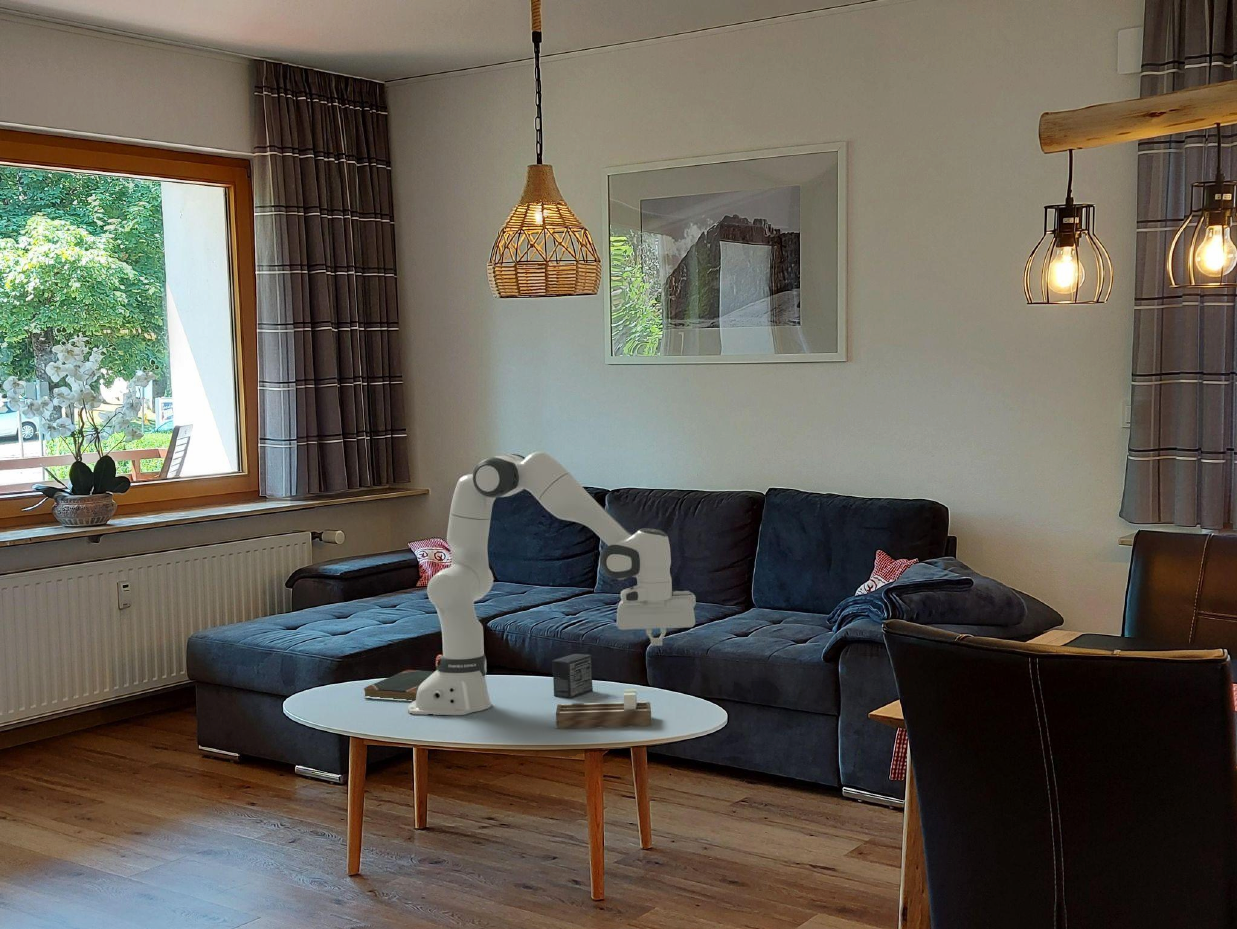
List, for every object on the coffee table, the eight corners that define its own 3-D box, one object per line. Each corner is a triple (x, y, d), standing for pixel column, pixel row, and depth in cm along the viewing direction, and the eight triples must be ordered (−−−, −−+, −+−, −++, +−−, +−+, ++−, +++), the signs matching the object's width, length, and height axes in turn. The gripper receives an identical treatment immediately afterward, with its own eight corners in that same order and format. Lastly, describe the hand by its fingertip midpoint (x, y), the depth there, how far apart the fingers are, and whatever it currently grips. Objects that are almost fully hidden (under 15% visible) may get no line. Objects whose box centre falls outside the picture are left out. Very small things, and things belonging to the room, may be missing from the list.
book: (407, 681, 381) (362, 700, 358) (407, 669, 381) (362, 688, 358) (458, 684, 375) (416, 704, 352) (458, 672, 375) (416, 691, 352)
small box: (575, 688, 363) (574, 652, 362) (593, 691, 359) (592, 654, 358) (552, 696, 354) (551, 659, 354) (570, 699, 350) (569, 661, 350)
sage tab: (625, 713, 324) (624, 691, 324) (625, 710, 327) (624, 689, 326) (636, 712, 324) (636, 691, 324) (636, 710, 327) (636, 688, 326)
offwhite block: (624, 716, 320) (623, 695, 320) (624, 714, 323) (623, 692, 322) (636, 716, 320) (635, 694, 320) (635, 714, 323) (635, 692, 322)
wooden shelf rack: (556, 728, 319) (555, 712, 319) (558, 719, 328) (557, 703, 328) (651, 726, 319) (650, 709, 319) (650, 717, 328) (650, 701, 328)
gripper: (694, 588, 327) (696, 641, 328) (615, 591, 327) (617, 644, 328) (696, 592, 321) (697, 646, 321) (615, 595, 321) (617, 649, 321)
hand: (656, 645), depth 325 cm, fingers closed
